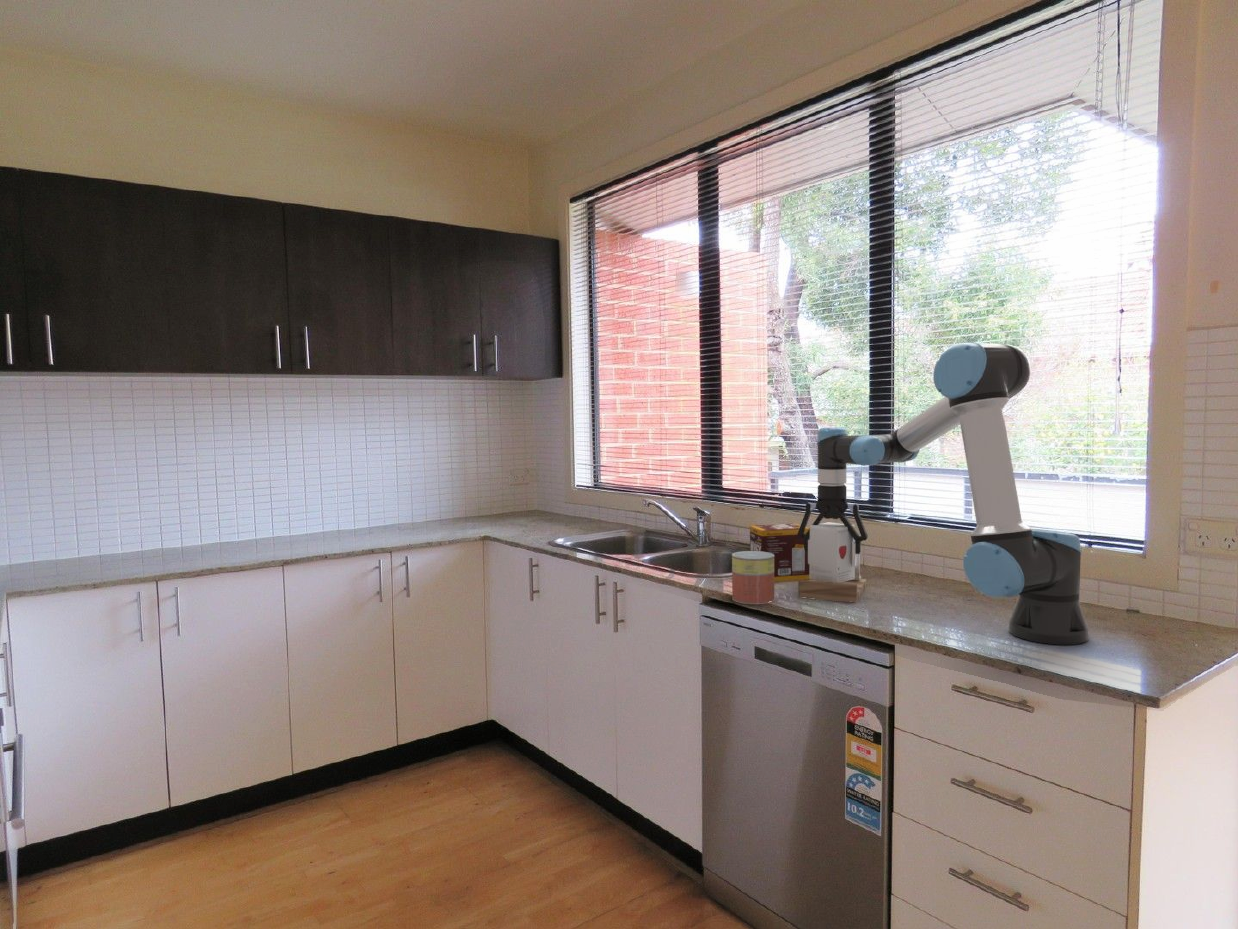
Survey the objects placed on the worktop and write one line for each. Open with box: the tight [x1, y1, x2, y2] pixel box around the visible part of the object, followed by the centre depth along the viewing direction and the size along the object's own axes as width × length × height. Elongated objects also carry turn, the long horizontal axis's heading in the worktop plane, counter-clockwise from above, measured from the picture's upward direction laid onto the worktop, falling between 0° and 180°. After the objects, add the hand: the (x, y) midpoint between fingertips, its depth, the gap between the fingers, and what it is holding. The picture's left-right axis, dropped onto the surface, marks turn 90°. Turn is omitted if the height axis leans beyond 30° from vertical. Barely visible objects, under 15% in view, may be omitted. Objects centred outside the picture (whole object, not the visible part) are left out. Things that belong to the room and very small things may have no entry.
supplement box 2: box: [809, 522, 856, 583], centre depth 207 cm, size 9×9×15 cm
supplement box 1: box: [749, 522, 810, 583], centre depth 228 cm, size 10×15×16 cm
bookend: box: [852, 553, 862, 581], centre depth 218 cm, size 4×12×8 cm, turn 66°
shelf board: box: [797, 578, 867, 603], centre depth 210 cm, size 22×15×4 cm
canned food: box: [731, 550, 775, 605], centre depth 203 cm, size 11×11×12 cm
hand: (832, 564), depth 207 cm, fingers closed on supplement box 2, 11 cm apart
